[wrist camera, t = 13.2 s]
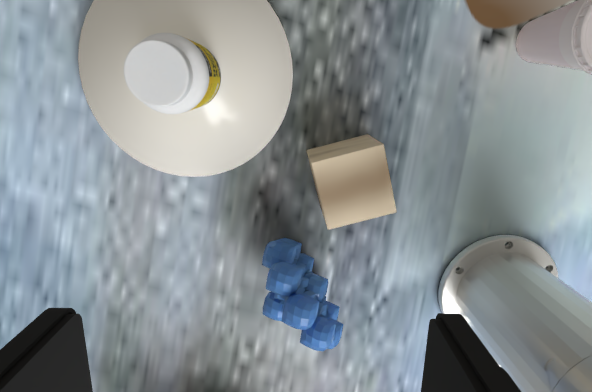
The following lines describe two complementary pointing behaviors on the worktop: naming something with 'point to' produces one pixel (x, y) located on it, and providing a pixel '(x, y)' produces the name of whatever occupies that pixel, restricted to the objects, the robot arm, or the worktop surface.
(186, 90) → the supplement bottle
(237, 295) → the worktop surface
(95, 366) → the worktop surface
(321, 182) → the ash block
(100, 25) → the ceramic plate
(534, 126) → the worktop surface
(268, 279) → the grapes
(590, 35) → the smoothie
